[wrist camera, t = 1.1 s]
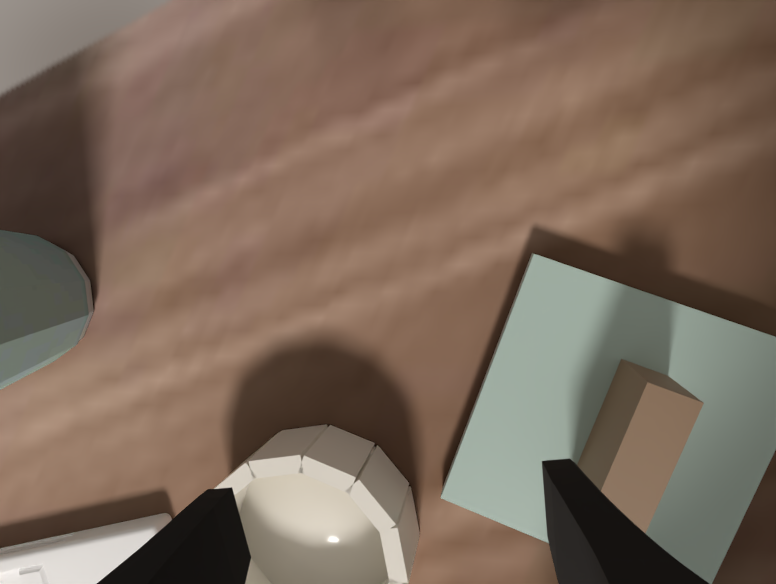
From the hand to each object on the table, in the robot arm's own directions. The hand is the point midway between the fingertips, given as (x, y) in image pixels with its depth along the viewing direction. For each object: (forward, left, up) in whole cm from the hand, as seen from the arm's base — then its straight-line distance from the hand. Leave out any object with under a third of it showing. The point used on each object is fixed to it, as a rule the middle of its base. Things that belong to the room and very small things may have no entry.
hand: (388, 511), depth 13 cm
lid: (-8, -1, -13) cm, 16 cm away
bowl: (+3, +9, -14) cm, 17 cm away
